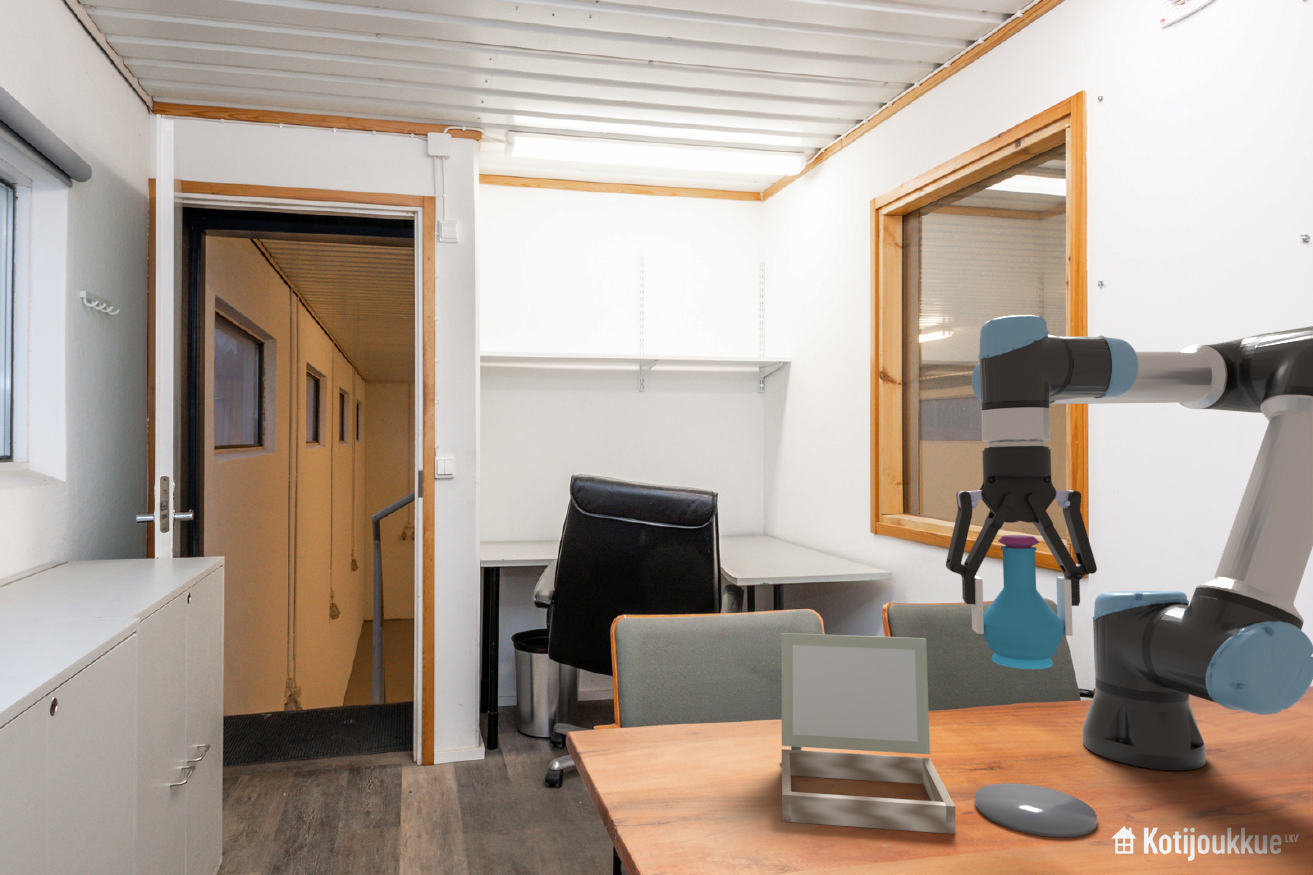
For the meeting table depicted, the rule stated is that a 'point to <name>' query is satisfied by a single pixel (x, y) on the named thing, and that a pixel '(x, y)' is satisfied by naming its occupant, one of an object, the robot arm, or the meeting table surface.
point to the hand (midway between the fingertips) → (1021, 632)
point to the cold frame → (866, 809)
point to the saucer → (1035, 810)
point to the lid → (855, 693)
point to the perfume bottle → (1021, 612)
